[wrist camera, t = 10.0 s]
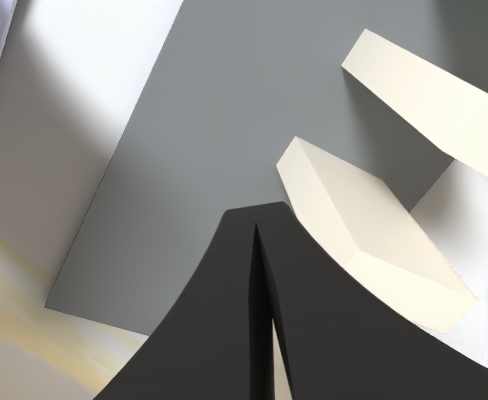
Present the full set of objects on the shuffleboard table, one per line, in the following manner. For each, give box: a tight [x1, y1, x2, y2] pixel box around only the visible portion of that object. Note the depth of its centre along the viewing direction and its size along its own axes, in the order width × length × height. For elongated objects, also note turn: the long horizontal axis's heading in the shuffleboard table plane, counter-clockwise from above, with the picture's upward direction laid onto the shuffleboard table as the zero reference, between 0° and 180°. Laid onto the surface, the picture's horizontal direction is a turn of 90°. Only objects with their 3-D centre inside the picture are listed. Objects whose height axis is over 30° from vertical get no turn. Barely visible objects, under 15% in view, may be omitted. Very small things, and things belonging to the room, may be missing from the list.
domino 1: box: [341, 29, 488, 177], centre depth 15 cm, size 2×5×8 cm, turn 60°
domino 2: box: [276, 136, 480, 334], centre depth 17 cm, size 2×5×8 cm, turn 61°
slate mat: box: [45, 0, 488, 336], centre depth 19 cm, size 14×29×1 cm, turn 151°
